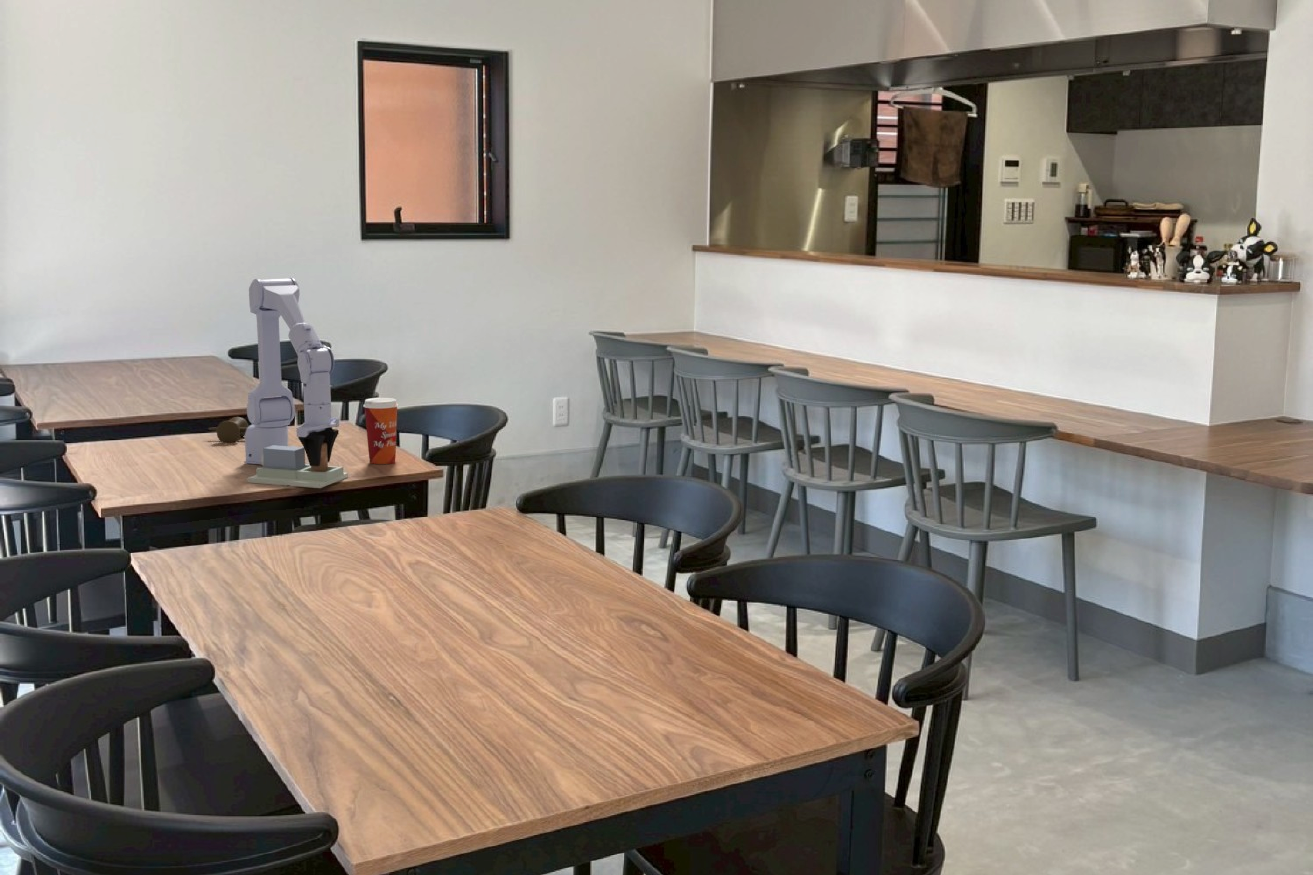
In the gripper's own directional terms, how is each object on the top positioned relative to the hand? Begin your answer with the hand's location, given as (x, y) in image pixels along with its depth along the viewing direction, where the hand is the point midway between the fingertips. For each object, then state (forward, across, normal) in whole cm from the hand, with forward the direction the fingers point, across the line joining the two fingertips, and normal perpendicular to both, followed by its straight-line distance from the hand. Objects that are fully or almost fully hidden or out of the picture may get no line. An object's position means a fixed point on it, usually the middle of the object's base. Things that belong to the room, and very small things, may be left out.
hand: (319, 463), depth 283 cm
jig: (+4, 0, +6) cm, 7 cm away
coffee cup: (+4, +24, -2) cm, 24 cm away
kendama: (+4, +38, +44) cm, 59 cm away
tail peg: (+2, 0, 0) cm, 2 cm away
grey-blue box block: (+3, 0, +9) cm, 9 cm away
